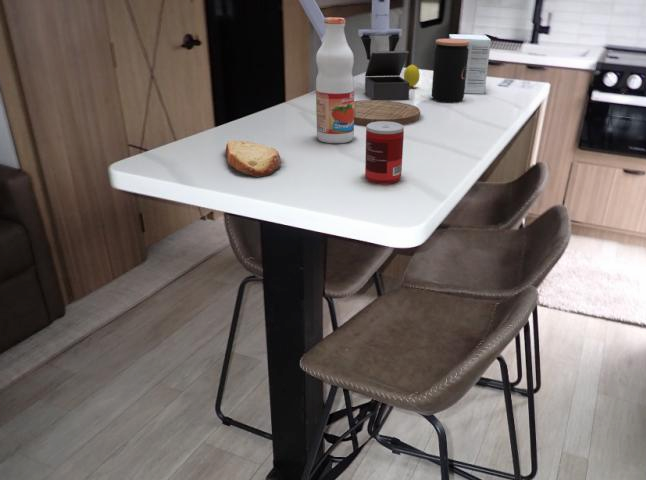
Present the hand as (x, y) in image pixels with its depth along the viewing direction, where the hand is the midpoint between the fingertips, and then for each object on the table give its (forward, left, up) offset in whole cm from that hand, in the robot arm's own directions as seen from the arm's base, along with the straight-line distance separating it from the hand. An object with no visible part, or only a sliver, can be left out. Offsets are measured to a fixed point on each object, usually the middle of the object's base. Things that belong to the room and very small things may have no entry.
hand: (379, 59), depth 201 cm
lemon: (+13, +4, -11) cm, 17 cm away
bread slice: (-50, -75, -11) cm, 90 cm away
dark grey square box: (0, -9, -10) cm, 14 cm away
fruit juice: (-27, -59, -11) cm, 65 cm away
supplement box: (+31, -2, -11) cm, 33 cm away
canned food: (-23, -91, -11) cm, 94 cm away
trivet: (-10, -36, -11) cm, 38 cm away
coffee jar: (+19, -17, -11) cm, 27 cm away
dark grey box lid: (0, -8, -1) cm, 8 cm away
